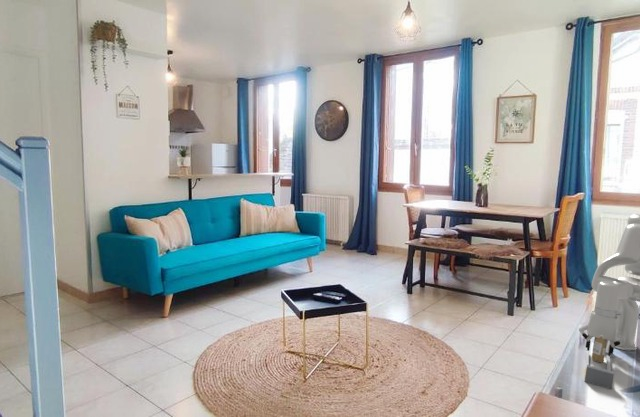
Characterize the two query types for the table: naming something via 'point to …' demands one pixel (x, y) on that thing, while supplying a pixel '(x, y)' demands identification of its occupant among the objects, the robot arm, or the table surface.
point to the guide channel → (598, 373)
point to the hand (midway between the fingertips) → (598, 351)
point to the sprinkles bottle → (599, 349)
